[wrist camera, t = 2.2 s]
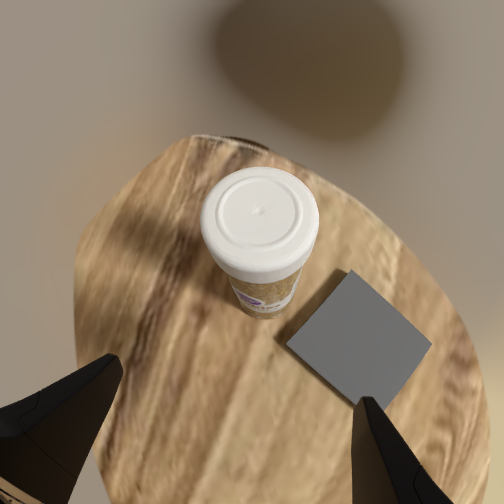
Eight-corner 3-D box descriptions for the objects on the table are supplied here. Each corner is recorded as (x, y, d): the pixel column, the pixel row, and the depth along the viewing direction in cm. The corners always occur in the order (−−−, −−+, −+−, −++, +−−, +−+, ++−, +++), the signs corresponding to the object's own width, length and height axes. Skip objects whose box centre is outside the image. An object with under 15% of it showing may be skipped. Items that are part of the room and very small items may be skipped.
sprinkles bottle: (232, 313, 22) (180, 255, 10) (245, 262, 24) (216, 156, 11) (288, 325, 21) (311, 282, 9) (298, 272, 23) (326, 171, 10)
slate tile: (371, 418, 18) (375, 420, 17) (285, 344, 21) (285, 343, 20) (426, 344, 20) (432, 343, 19) (348, 273, 23) (351, 269, 22)
